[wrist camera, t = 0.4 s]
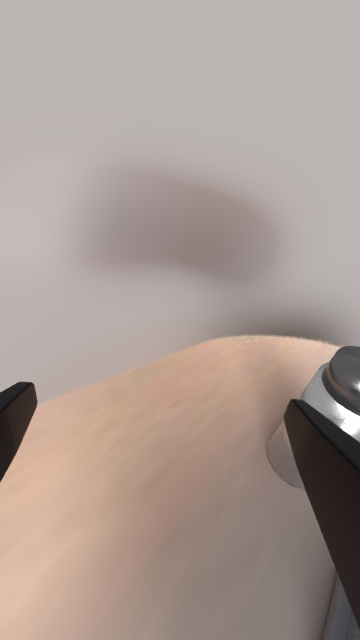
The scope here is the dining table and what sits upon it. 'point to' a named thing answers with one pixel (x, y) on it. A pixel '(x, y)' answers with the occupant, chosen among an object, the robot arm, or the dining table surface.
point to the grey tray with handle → (340, 617)
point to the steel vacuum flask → (323, 408)
